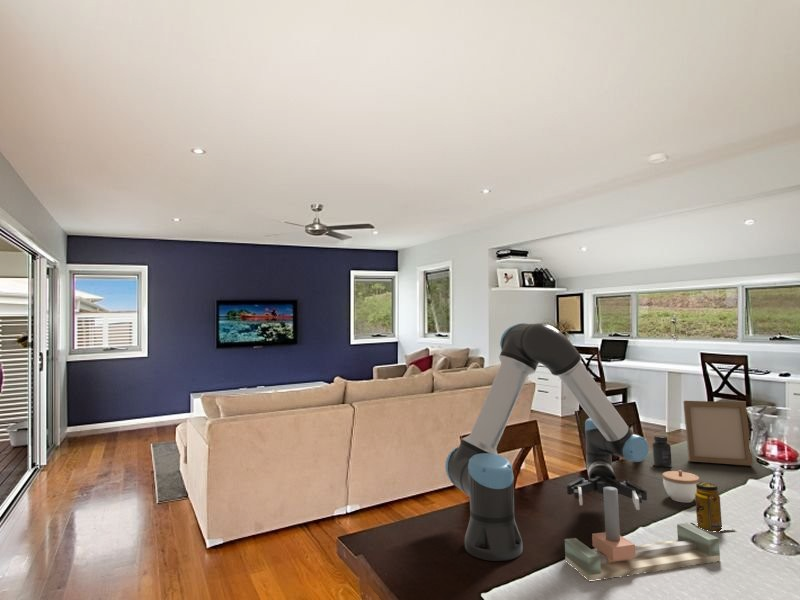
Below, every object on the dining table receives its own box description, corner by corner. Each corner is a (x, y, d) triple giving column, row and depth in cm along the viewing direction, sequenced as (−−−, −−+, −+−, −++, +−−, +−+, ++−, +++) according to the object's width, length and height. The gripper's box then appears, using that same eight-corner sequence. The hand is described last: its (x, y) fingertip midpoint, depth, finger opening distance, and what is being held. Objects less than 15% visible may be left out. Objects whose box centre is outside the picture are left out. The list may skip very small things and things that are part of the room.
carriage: (613, 566, 114) (610, 495, 115) (592, 551, 122) (589, 485, 123) (635, 562, 116) (632, 492, 117) (614, 548, 124) (610, 482, 125)
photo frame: (753, 468, 194) (749, 404, 195) (690, 463, 202) (686, 402, 204) (744, 458, 207) (740, 399, 209) (685, 454, 216) (681, 397, 217)
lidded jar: (691, 507, 155) (690, 477, 155) (657, 498, 163) (655, 470, 164) (706, 500, 161) (704, 471, 161) (672, 491, 170) (671, 464, 170)
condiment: (690, 523, 143) (687, 481, 144) (717, 521, 144) (714, 479, 144) (708, 533, 136) (705, 489, 136) (736, 531, 136) (733, 487, 137)
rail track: (589, 582, 112) (588, 557, 112) (565, 562, 122) (564, 539, 122) (720, 561, 120) (718, 538, 120) (687, 544, 130) (686, 522, 130)
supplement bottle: (672, 464, 201) (670, 435, 202) (671, 469, 195) (669, 438, 196) (653, 462, 205) (652, 433, 205) (652, 467, 199) (650, 437, 200)
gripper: (648, 493, 143) (663, 521, 123) (558, 487, 151) (558, 512, 130) (647, 467, 143) (661, 490, 123) (557, 462, 151) (557, 483, 131)
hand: (608, 502), depth 127 cm, fingers open, 13 cm apart
